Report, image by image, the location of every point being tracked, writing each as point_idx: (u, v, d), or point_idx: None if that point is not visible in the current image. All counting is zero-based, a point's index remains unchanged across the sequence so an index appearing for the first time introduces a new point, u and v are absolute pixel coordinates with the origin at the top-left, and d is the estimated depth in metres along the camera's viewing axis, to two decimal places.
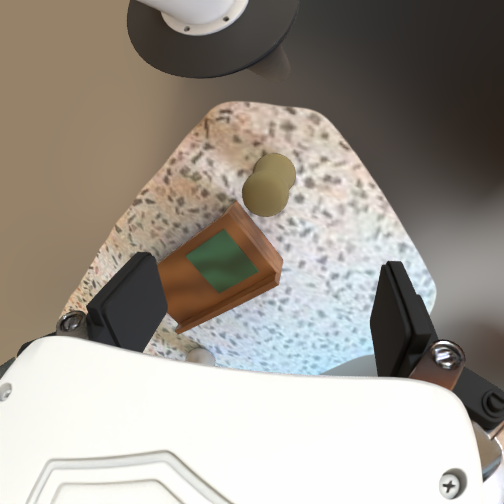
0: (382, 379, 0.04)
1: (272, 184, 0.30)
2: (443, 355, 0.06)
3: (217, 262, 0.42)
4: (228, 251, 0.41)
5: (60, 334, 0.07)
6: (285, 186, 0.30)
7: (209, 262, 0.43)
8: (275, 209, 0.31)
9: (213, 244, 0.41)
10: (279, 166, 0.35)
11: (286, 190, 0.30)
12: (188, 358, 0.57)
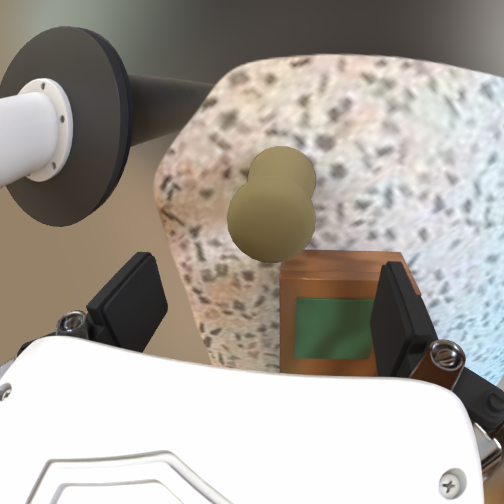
0: (382, 379, 0.04)
1: (255, 201, 0.15)
2: (443, 355, 0.06)
3: (331, 334, 0.26)
4: (329, 314, 0.25)
5: (60, 334, 0.07)
6: (277, 181, 0.15)
7: (323, 342, 0.27)
8: (300, 226, 0.15)
9: (305, 323, 0.26)
10: (262, 166, 0.20)
11: (284, 185, 0.15)
12: None
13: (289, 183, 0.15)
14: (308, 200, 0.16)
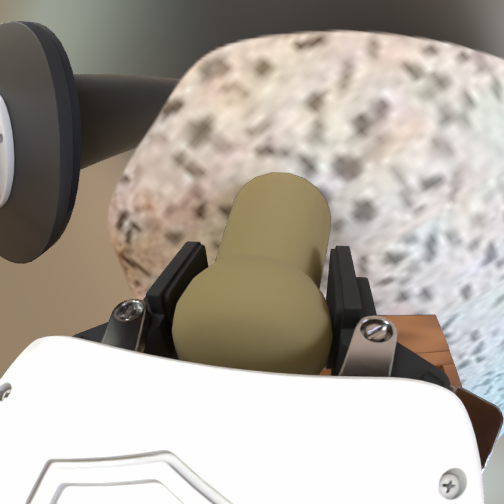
0: (382, 379, 0.04)
1: (213, 327, 0.07)
2: (372, 330, 0.07)
3: None
4: None
5: (119, 323, 0.08)
6: (260, 282, 0.07)
7: None
8: (303, 369, 0.07)
9: None
10: (244, 214, 0.12)
11: (275, 289, 0.07)
12: None
13: (286, 283, 0.08)
14: (322, 313, 0.08)
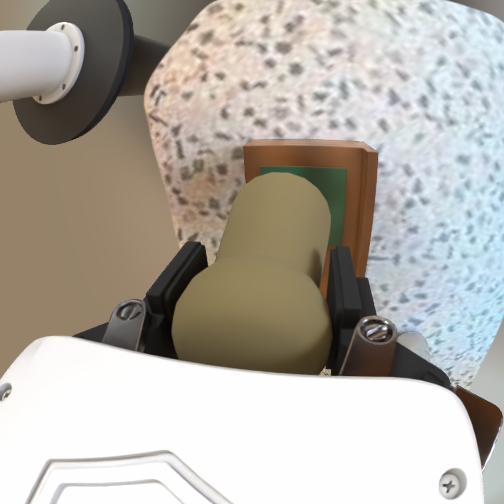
0: (382, 379, 0.04)
1: (213, 327, 0.07)
2: (372, 331, 0.07)
3: None
4: None
5: (119, 323, 0.08)
6: (259, 282, 0.07)
7: None
8: (302, 369, 0.07)
9: None
10: (244, 214, 0.12)
11: (275, 289, 0.07)
12: None
13: (286, 283, 0.08)
14: (322, 312, 0.08)
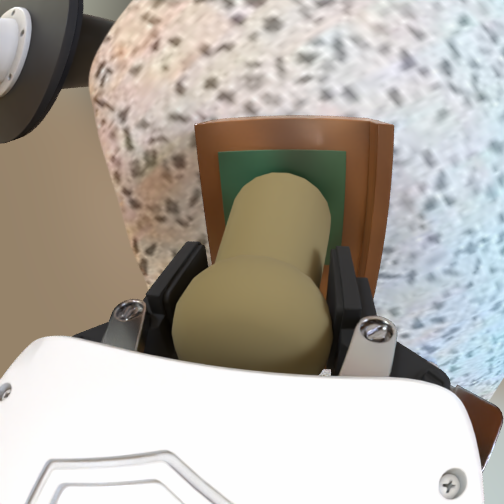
0: (382, 379, 0.04)
1: (213, 327, 0.07)
2: (372, 331, 0.07)
3: None
4: None
5: (119, 323, 0.08)
6: (260, 282, 0.07)
7: None
8: (303, 369, 0.07)
9: (234, 193, 0.19)
10: (244, 214, 0.12)
11: (275, 290, 0.07)
12: None
13: (286, 283, 0.08)
14: (322, 313, 0.08)
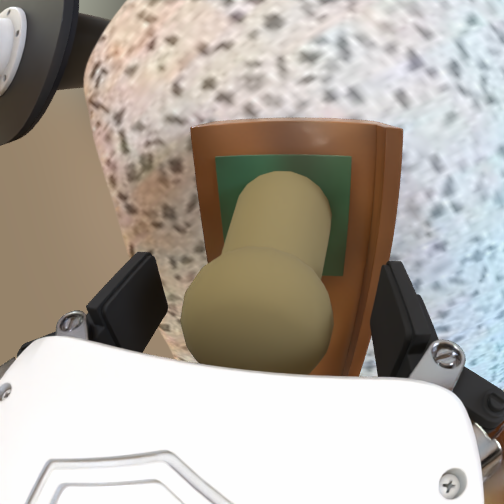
0: (382, 379, 0.04)
1: (221, 312, 0.08)
2: (443, 355, 0.06)
3: None
4: None
5: (60, 334, 0.07)
6: (265, 270, 0.08)
7: None
8: (305, 354, 0.08)
9: (232, 201, 0.18)
10: (249, 210, 0.13)
11: (279, 277, 0.08)
12: None
13: (289, 271, 0.08)
14: (323, 300, 0.08)
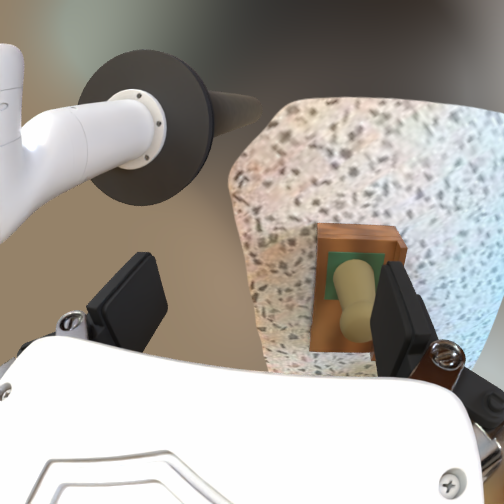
0: (382, 379, 0.04)
1: (360, 320, 0.29)
2: (443, 355, 0.06)
3: None
4: None
5: (60, 334, 0.07)
6: (369, 309, 0.29)
7: None
8: None
9: (333, 270, 0.39)
10: (351, 282, 0.34)
11: None
12: None
13: None
14: None
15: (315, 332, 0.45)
